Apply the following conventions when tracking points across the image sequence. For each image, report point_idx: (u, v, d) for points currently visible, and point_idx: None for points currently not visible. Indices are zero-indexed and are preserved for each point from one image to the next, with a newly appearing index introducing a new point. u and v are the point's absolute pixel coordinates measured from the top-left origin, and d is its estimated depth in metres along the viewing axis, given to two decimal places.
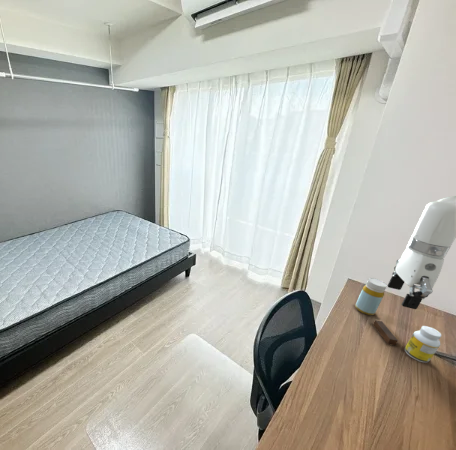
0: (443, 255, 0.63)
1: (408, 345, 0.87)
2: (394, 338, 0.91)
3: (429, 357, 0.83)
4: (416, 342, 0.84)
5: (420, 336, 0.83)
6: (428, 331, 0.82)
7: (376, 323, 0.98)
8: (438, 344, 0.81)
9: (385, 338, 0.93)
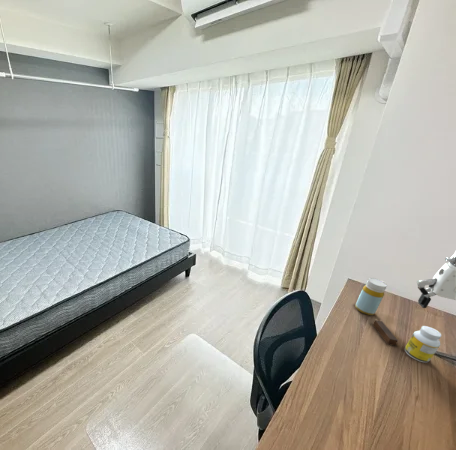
0: None
1: (408, 345, 0.87)
2: (394, 338, 0.91)
3: (429, 357, 0.83)
4: (416, 342, 0.84)
5: (420, 336, 0.83)
6: (428, 331, 0.82)
7: (376, 323, 0.98)
8: (438, 344, 0.81)
9: (385, 338, 0.93)
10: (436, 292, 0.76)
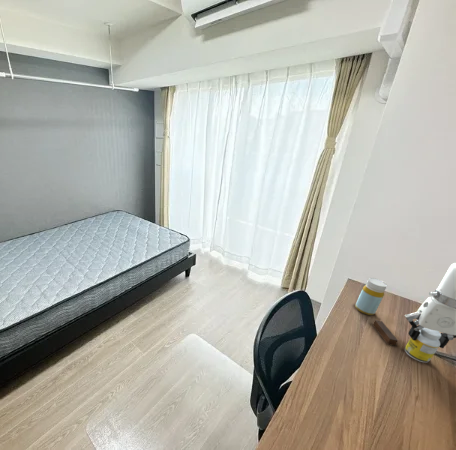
0: (441, 302, 0.77)
1: (408, 345, 0.87)
2: (394, 338, 0.91)
3: (429, 357, 0.83)
4: (416, 342, 0.84)
5: (420, 336, 0.83)
6: (428, 331, 0.82)
7: (376, 323, 0.98)
8: (438, 344, 0.81)
9: (385, 338, 0.93)
10: (421, 324, 0.81)
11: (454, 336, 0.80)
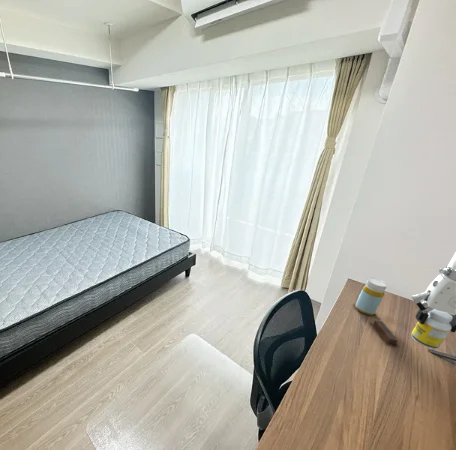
0: (453, 279, 0.68)
1: (415, 330, 0.78)
2: (394, 338, 0.91)
3: (439, 342, 0.74)
4: (424, 326, 0.76)
5: (429, 319, 0.75)
6: (438, 313, 0.74)
7: (376, 323, 0.98)
8: (449, 327, 0.72)
9: (385, 338, 0.93)
10: (430, 305, 0.72)
11: None
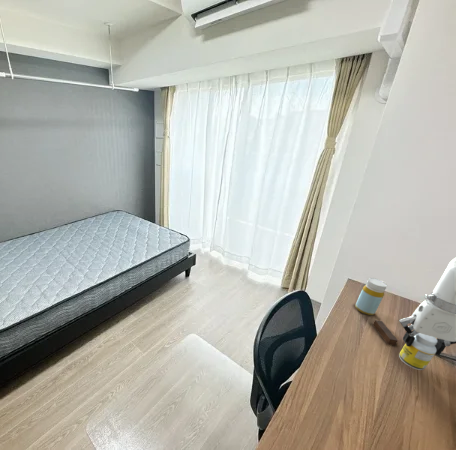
0: (437, 306, 0.72)
1: (402, 351, 0.82)
2: (394, 338, 0.91)
3: (424, 364, 0.78)
4: (410, 348, 0.79)
5: (415, 342, 0.78)
6: (423, 337, 0.77)
7: (376, 323, 0.98)
8: (434, 351, 0.76)
9: (385, 338, 0.93)
10: (416, 329, 0.76)
11: (451, 342, 0.75)
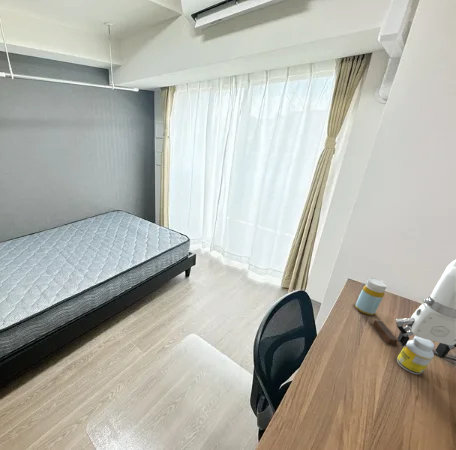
0: (435, 310, 0.72)
1: (400, 355, 0.83)
2: (394, 338, 0.91)
3: (422, 369, 0.79)
4: (408, 352, 0.80)
5: (413, 346, 0.79)
6: (421, 341, 0.78)
7: (376, 323, 0.98)
8: (431, 355, 0.77)
9: (385, 338, 0.93)
10: (414, 332, 0.77)
11: None
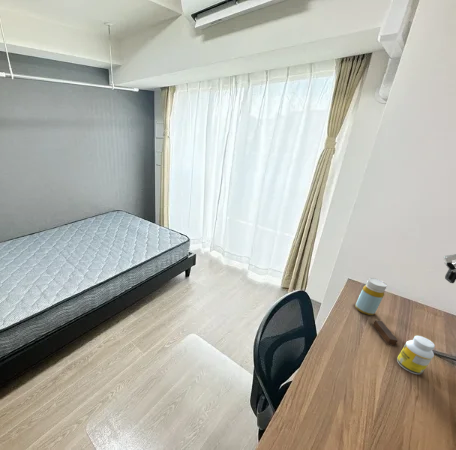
0: None
1: (400, 355, 0.83)
2: (394, 338, 0.91)
3: (422, 369, 0.79)
4: (408, 352, 0.80)
5: (413, 346, 0.79)
6: (421, 341, 0.78)
7: (376, 323, 0.98)
8: (431, 355, 0.77)
9: (385, 338, 0.93)
10: None
11: None
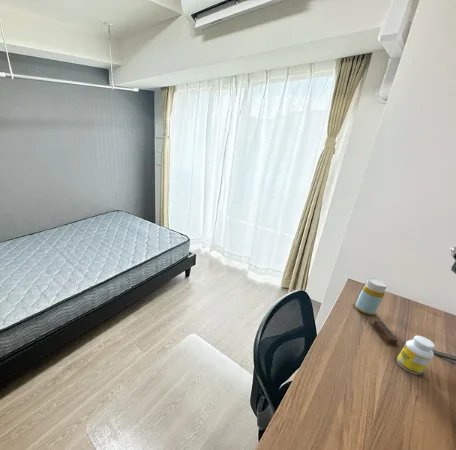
0: None
1: (400, 355, 0.83)
2: (394, 338, 0.91)
3: (422, 369, 0.79)
4: (408, 352, 0.80)
5: (413, 346, 0.79)
6: (421, 341, 0.78)
7: (376, 323, 0.98)
8: (431, 355, 0.77)
9: (385, 338, 0.93)
10: None
11: None
